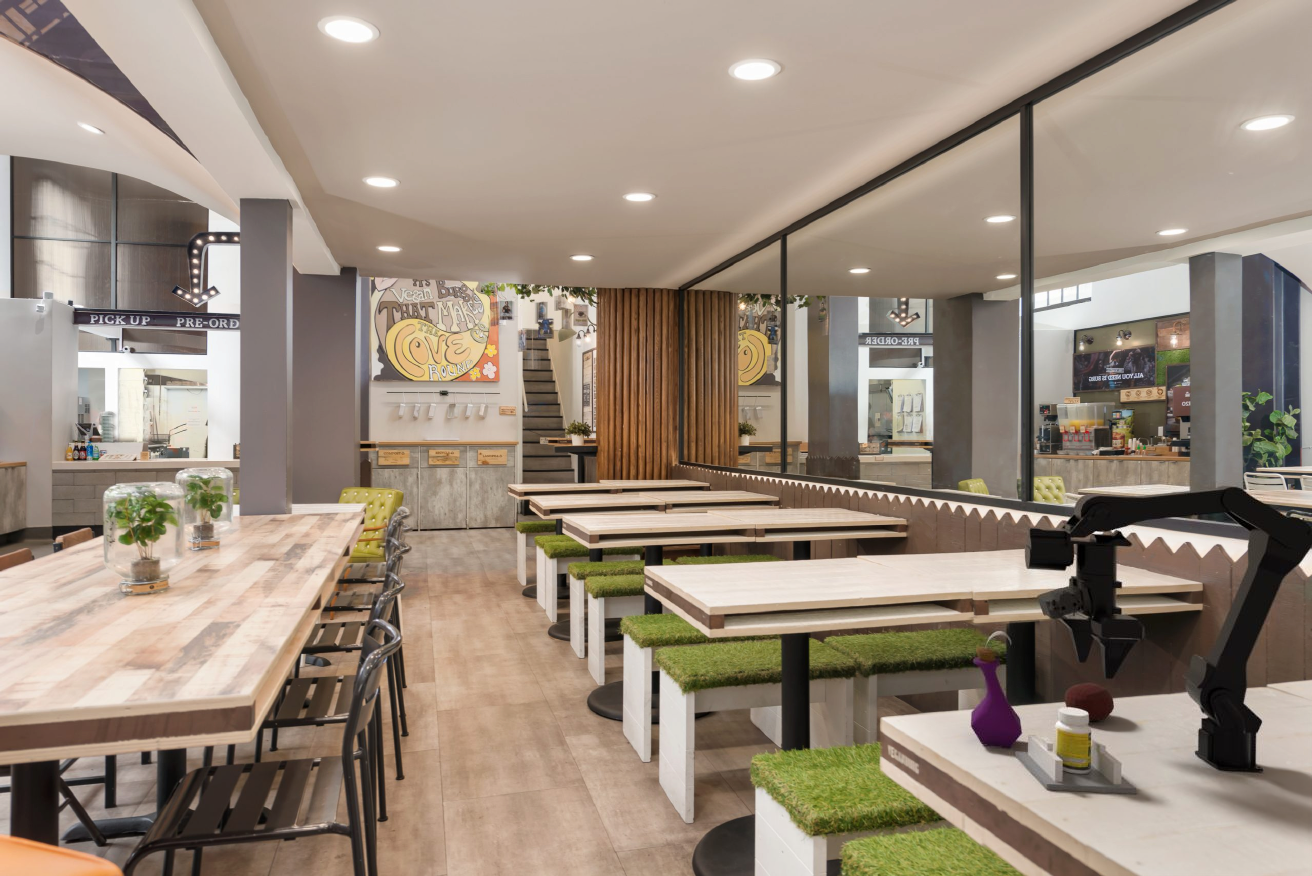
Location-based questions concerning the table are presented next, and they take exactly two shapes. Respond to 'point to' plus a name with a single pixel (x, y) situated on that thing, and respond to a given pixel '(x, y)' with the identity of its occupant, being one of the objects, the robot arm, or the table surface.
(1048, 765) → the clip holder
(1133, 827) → the table surface
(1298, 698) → the table surface
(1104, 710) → the potato
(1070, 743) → the supplement bottle
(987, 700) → the purple potion bottle
